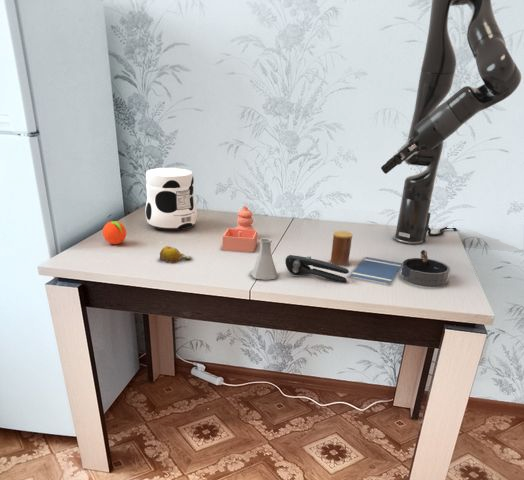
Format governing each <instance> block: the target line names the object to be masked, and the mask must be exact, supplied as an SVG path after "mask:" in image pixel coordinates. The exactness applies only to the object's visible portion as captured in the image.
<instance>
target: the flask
mask: <svg viewBox="0 0 524 480" xmlns="http://www.w3.org/2000/svg"><path fill="white" fill-rule="evenodd" d="M272 241H273V239H271V238H268V237H261V238H260V239H259V243H260V247H259V252H258V256H257V258H256V261H255V264H254V266H253V268H252V270H251V274H250V275H251V276H252V277H253V278H254V279H256V280H265V281H266V280H267V281H268V280H274V279H275V280H276V278H277V276H278V272H277V268H276V265H275V263H274V259H273V255H272V249H271V244H272Z"/></svg>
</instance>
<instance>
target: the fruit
mask: <svg viewBox="0 0 524 480" xmlns="http://www.w3.org/2000/svg"><path fill="white" fill-rule="evenodd" d="M182 257H184V258H185V259H186V260H190V259H191V256H190V255H187V256H186V254H185V253H181V252H180V250H179V249H177V248H176V247H173V246H170V245H167V246H164V247H163V248H162V249H161V250H160V252H159V260H165V261H167V263H170V262H171V263H176V262H179V261H180V259H181V258H182Z"/></svg>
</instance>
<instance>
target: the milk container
mask: <svg viewBox="0 0 524 480" xmlns="http://www.w3.org/2000/svg"><path fill="white" fill-rule="evenodd" d="M193 173H194V172H193V171H192V170H189V169H186V168H179V167H158V168H157V167H156V168H151V169H147V170H146V171H145V190H146V204H145V208H144V214H145V219H146V222H147V224H148V226H150V227H152V228H154V229H159V230H163V231H180V230H185V229H189V228H191V227H193V226H194V225H196V222H197V218H198V209H197V205H196V202H195V184H194V182H195V181H194V174H193Z"/></svg>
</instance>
